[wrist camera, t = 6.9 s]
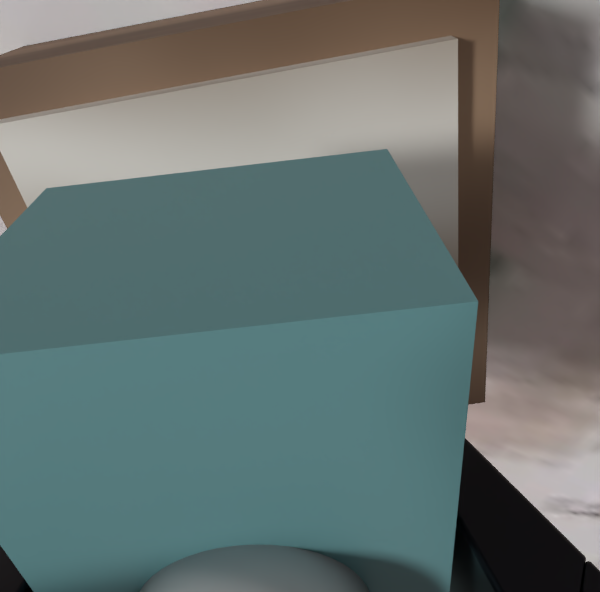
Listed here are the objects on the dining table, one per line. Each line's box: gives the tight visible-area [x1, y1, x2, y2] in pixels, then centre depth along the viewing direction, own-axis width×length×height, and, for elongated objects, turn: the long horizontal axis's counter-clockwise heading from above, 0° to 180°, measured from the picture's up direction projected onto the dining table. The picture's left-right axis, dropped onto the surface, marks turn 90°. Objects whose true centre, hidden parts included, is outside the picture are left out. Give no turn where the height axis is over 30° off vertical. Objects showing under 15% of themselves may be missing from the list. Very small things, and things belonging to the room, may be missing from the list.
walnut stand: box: [0, 0, 500, 404], centre depth 16 cm, size 12×12×6 cm
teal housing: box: [0, 149, 478, 592], centre depth 8 cm, size 5×9×5 cm, turn 6°
